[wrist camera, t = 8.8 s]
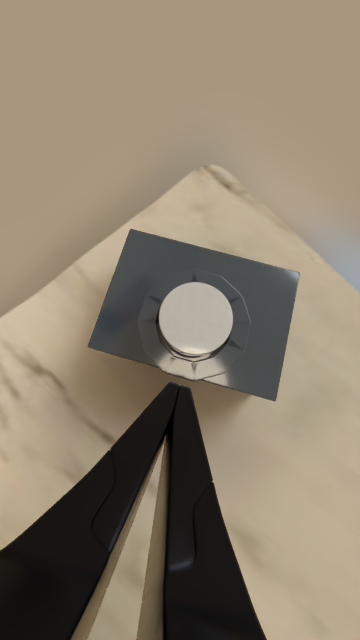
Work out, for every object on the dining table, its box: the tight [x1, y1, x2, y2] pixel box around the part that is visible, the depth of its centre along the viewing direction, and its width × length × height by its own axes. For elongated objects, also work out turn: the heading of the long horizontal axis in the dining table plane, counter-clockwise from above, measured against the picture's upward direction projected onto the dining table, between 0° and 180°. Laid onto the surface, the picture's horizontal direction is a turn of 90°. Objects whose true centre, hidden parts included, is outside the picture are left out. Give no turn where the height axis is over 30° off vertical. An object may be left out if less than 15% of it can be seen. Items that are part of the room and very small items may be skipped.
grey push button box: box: [88, 229, 300, 401], centre depth 19 cm, size 10×14×7 cm
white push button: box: [159, 282, 233, 356], centre depth 14 cm, size 4×4×2 cm
